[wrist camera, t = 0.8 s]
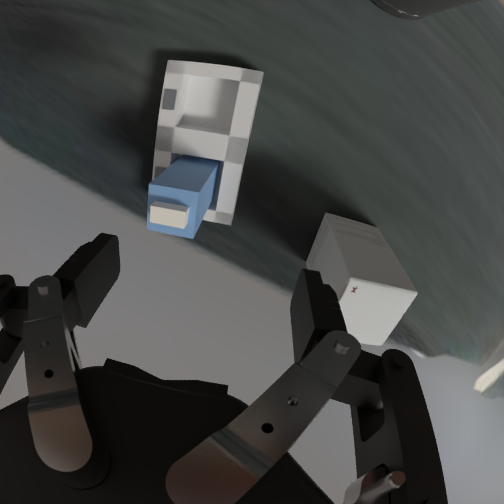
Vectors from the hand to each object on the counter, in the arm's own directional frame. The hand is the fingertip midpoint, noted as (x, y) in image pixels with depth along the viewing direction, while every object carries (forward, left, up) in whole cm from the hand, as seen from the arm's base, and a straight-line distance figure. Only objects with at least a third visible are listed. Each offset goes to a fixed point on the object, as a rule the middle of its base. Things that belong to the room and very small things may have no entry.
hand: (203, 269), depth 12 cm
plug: (+3, -4, -20) cm, 21 cm away
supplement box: (+8, +14, -21) cm, 26 cm away
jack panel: (-1, -4, -21) cm, 21 cm away
